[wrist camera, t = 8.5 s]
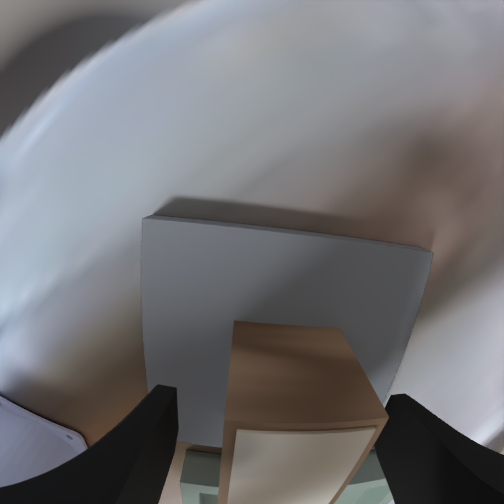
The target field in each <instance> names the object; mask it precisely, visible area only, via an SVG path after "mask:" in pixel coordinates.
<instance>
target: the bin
mask: <svg viewBox="0 0 504 504" xmlns="http://www.w3.org/2000/svg"><path fill="white" fill-rule="evenodd" d="M220 465H221V454H215V453H207V452H199V451H192V450H186V454H185V459H184V464H183V469H182V474H181V479H180V487H181V494H182V500H183V504H218V491H219V478H220ZM392 499H393V496H392V494H391V491H390V489H389V486H388V484H387V481H386V478H385V476H384V473H383V471H382V468H381V466H380V463H379V460H378V458H377V454H376V450H375V451H370V452H369V453H368V455H367V457H366V458H365V460H364V461H363V463H362V465H361V466H360V468H359V469H358V471H357V472H356V474H355V475H354V477H353V478H352V480H351V481H350V482H349V484H348V485H347V487H346V488H345V489H344V491H343V492H342V494H341V495H340V496H339V498H338V499H337V500H336V502H335V503H334V504H388V503H389V502H390V501H391V500H392Z"/></svg>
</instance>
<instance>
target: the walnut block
mask: <svg viewBox="0 0 504 504" xmlns="http://www.w3.org/2000/svg"><path fill="white" fill-rule="evenodd" d="M388 418H389V416H388V414H387V412H386V411H385V409H384V407H383V405H382V403H381V401H380V399H379V398H378V396H377V394H376V392H375V390H374V388H373V387H372V385H371V383H370V381H369V379H368V378H367V376H366V374H365V372H364V370H363V369H362V367H361V365H360V363H359V361H358V360H357V358H356V356H355V354H354V353H353V351H352V349H351V347H350V346H349V344H348V342H347V340H346V339H345V337H344V335H343V333H342V332H341V330H340V328H331V327H311V326H295V325H281V324H268V323H257V322H246V321H236V320H234V326H233V335H232V345H231V355H230V365H229V375H228V386H227V396H226V406H225V417H224V429H223V441H222V453H221V465H220V478H219V491H218V504H334V503H335V502H336V500H337V499H338V498H339V496H340V495H341V494H342V492H343V491H344V489H345V488H346V487H347V485H348V484H349V482H350V481H351V480H352V478H353V477H354V475H355V474H356V472H357V471H358V469H359V468H360V466H361V465H362V463H363V461H364V460H365V458H366V457H367V455H368V453H369V452H370V450H371V449H372V447H373V445H374V443H375V442H376V440H377V438H378V437H379V435H380V433H381V431H382V429H383V428H384V426H385V424H386V422H387V420H388Z"/></svg>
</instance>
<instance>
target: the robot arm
mask: <svg viewBox="0 0 504 504" xmlns="http://www.w3.org/2000/svg"><path fill="white" fill-rule="evenodd" d="M385 411H386V412H387V414H388V416H389V418H388V420H387V422H386V424H385V426H384V428H383V429H382V431H381V433H380V435H379V437H378V438H377V440H376V442H375V443H374V446H375V450H376V454H377V458H378V460H379V463H380V466H381V468H382V471H383V473H384V476H385V478H386V481H387V484H388V486H389V489H390V491H391V494H392V496H393V499H394V502H395V504H504V455H502V454H500V453H497V452H495V451H493V450H490V449H488V448H486V447H484V446H482V445H480V444H478V443H476V442H475V441H473V440H471V439H469V438H468V437H466V436H465V435H463V434H461V433H460V432H458V431H457V430H455V429H454V428H452V427H451V426H449V425H448V424H447V423H445V422H444V421H442V420H441V419H440V418H438V417H437V416H436V415H434V414H433V413H432V412H430V411H429V410H428V409H426V408H425V407H424V406H422V405H421V404H419V403H418V402H417V401H415V400H414V399H412V398H411V397H410V396H408V395H406V394H396V395H391V396H390V398H389V400H388V403H387V405H386V407H385ZM178 431H179V423H178V404H177V387H171V386H165V385H160V384H158V385H156V386H155V387H154V388H153V389H152V390H151V391H150V392H149V394H148V395H147V396H146V397H145V398H144V399H143V400H142V401H141V402H140V403H139V404H138V405H137V406H136V407H135V408H134V409H133V410H132V411H131V412H130V413H129V414H128V415H127V416H126V417H125V418H124V419H123V420H122V421H121V422H120V423H119V424H118V425H117V426H115V427H114V428H113V429H112V430H111V431H110V432H108V433H107V434H106V435H105V436H103V437H102V438H101V439H100V440H99V441H97V442H96V443H95V444H93V445H92V446H90V447H89V448H87V445H86V443H85V441H84V438H83V437H82V436H81V435H80V434H79V433H77V432H75V431H72V430H70V429H67V428H65V427H62V426H60V425H58V424H55V423H53V422H51V421H48V420H46V419H44V418H42V417H40V416H37V415H35V414H33V413H31V412H29V411H27V410H25V409H23V408H21V407H19V406H17V405H16V404H14V403H12V402H10V401H8V400H6V399H5V398H3V397H1V396H0V504H158V503H159V500H160V496H161V493H162V490H163V487H164V484H165V481H166V478H167V475H168V472H169V468H170V465H171V462H172V459H173V456H174V452H175V447H176V441H177V436H178Z"/></svg>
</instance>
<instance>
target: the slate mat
mask: <svg viewBox="0 0 504 504" xmlns="http://www.w3.org/2000/svg"><path fill="white" fill-rule="evenodd" d="M432 257H433V253H432V252H430V251H428V250H426V249H424V248H421V247H415V246H409V245H402V244H396V243H389V242H382V241H375V240H368V239H360V238H353V237H346V236H338V235H331V234H323V233H315V232H307V231H299V230H291V229H283V228H274V227H266V226H257V225H248V224H239V223H229V222H220V221H210V220H200V219H190V218H180V217H169V216H158V215H150V216H147V217H145V218H142V241H141V306H142V330H143V346H144V359H145V371H146V381H147V390H148V394H149V392H150V391H151V390H152V389H153V388H154V387H155V386H156V385H158V384H160V385H165V386H171V387H177V404H178V423H179V431H178V436H177V442H183V443H189V444H196V445H203V446H211V447H220V448H222V441H223V429H224V417H225V406H226V396H227V386H228V375H229V365H230V355H231V345H232V335H233V326H234V320H236V321H246V322H257V323H268V324H281V325H295V326H311V327H331V328H340V330H341V332H342V333H343V335H344V337H345V339H346V340H347V342H348V344H349V346H350V347H351V349H352V351H353V353H354V354H355V356H356V358H357V360H358V361H359V363H360V365H361V367H362V369H363V370H364V372H365V374H366V376H367V378H368V379H369V381H370V383H371V385H372V387H373V388H374V390H375V392H376V394H377V396H378V398H379V399H380V401H381V403H383V401H384V399H385V397H386V395H387V393H388V390H389V388H390V386H391V384H392V381H393V379H394V377H395V374H396V372H397V369H398V367H399V364H400V362H401V359H402V357H403V354H404V351H405V349H406V346H407V343H408V341H409V338H410V335H411V332H412V329H413V326H414V323H415V320H416V317H417V314H418V310H419V307H420V304H421V300H422V297H423V293H424V290H425V286H426V282H427V278H428V274H429V270H430V266H431V262H432Z"/></svg>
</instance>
